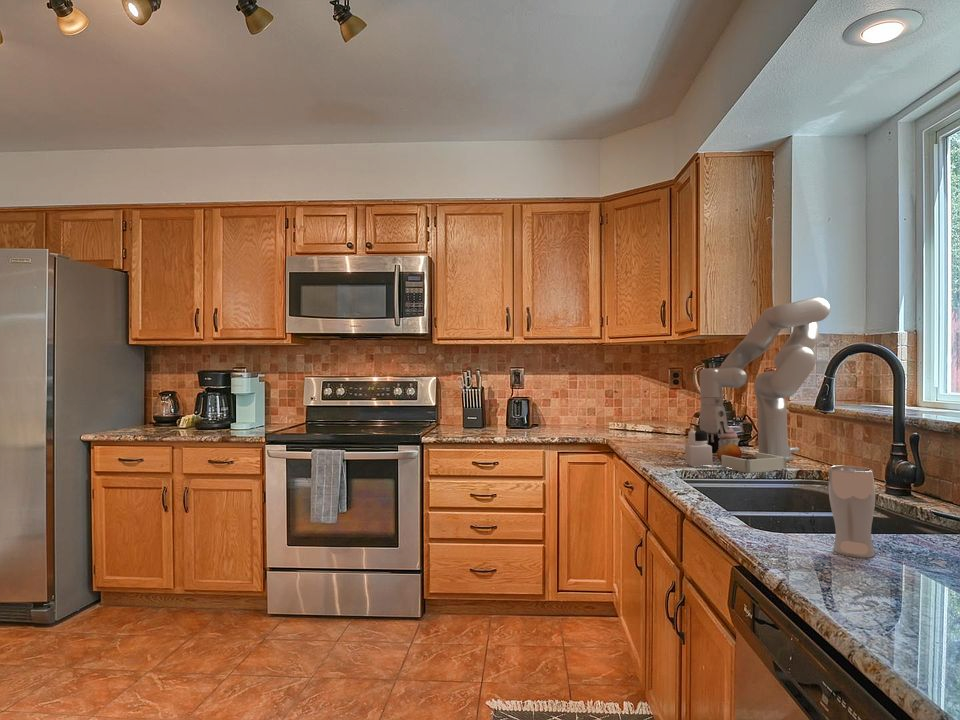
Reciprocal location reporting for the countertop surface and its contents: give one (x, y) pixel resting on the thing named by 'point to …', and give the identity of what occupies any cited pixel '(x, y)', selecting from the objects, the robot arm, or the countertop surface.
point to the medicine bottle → (698, 449)
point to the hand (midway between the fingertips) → (713, 452)
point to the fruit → (729, 451)
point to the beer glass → (852, 509)
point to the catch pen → (755, 463)
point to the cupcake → (729, 438)
